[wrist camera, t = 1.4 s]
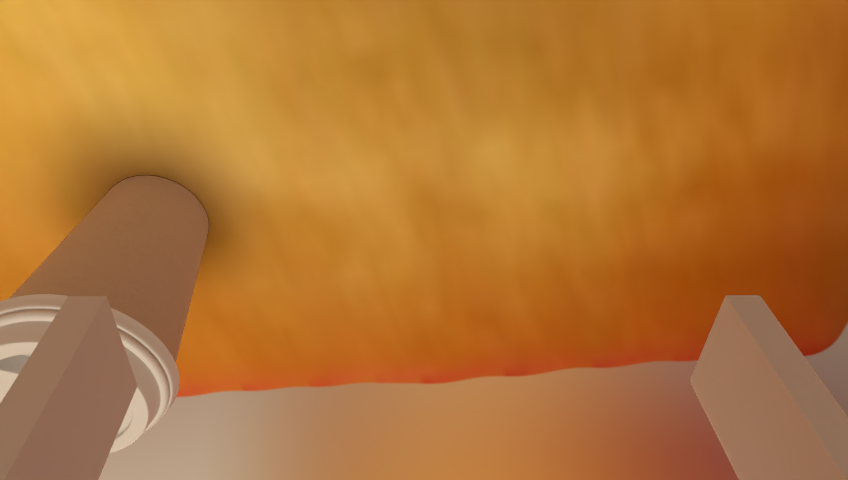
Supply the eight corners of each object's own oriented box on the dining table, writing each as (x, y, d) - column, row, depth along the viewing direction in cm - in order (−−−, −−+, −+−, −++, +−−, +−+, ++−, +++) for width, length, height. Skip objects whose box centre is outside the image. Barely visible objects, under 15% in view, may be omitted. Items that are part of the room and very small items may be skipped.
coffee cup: (262, 217, 41) (208, 400, 29) (179, 297, 44) (100, 490, 32) (129, 122, 36) (-1, 290, 24) (50, 219, 40) (-98, 408, 28)
